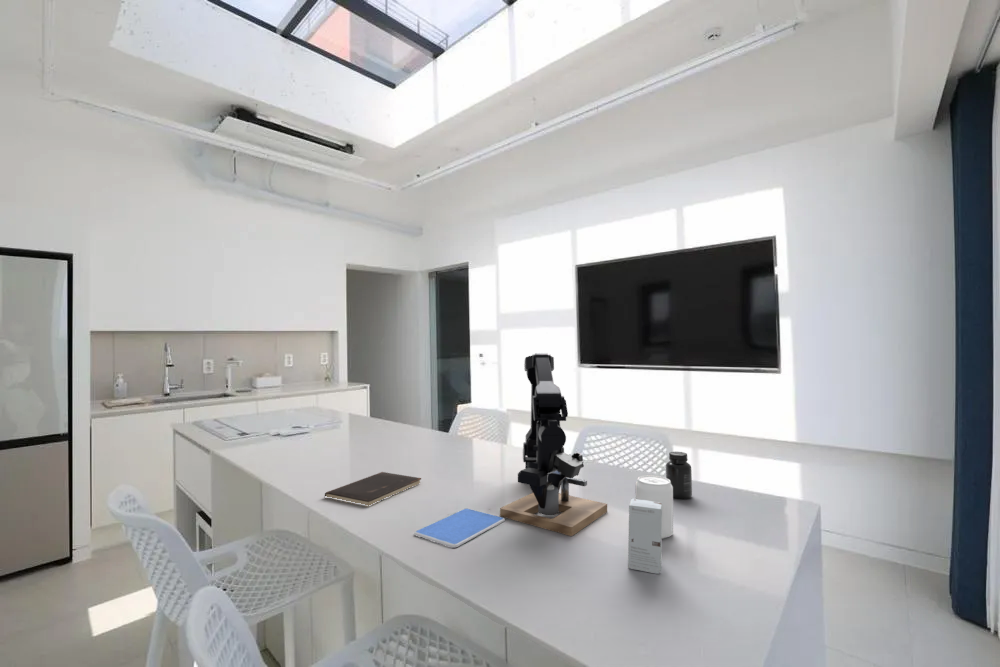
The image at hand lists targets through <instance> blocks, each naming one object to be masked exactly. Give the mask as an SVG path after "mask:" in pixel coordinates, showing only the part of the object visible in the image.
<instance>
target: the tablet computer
mask: <svg viewBox="0 0 1000 667" xmlns="http://www.w3.org/2000/svg"><path fill="white" fill-rule="evenodd" d="M505 521H506V520H505V517H501V516H497V515H493V514H489V513H486V512H482V511H480V510H479V511H478V510H475V509H471V508H464V509H462V510H459V511H456V512H455V513H453V514H451V515H449V516H446V517H445V518H442V519H440V520H437V521H435V522H433V523H431V524H429V525H426V526H424V527H422V528H420V529H418V530H416V531H414V534H415V535H417V536H420V537H423V538H426V539H429V540H432V541H435V542H437V543H436V544H438V543H441V544H443V545H442V546H444V545H446V546H445V547H447V546H448V547H447V548H451V549H455V548H458V547H460V546H462V545H464V544H465V543H467V542H469V541H470V540H472V539H474V538H476V537H478V536H479V535H481V534H483V533H485V532H487V531H489V530H491V529H492V528H495V527H496V526H498V525H500V524H502V523H504V522H505ZM414 534H413V535H414ZM415 535H414V536H415ZM417 536H416V537H417ZM420 537H419V538H420ZM423 538H422V539H423ZM426 539H425V540H426ZM429 540H428V541H429ZM432 541H431V542H432ZM435 542H434V543H435ZM441 544H440V545H441Z"/></svg>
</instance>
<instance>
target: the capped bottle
mask: <svg viewBox="0 0 1000 667" xmlns="http://www.w3.org/2000/svg"><path fill="white" fill-rule="evenodd" d="M559 493H560V490H559V489H558V488H557V487H555V486H553V485H549V486H548V487H547V494H546V504H545V508H544V509H543V508H540V506H539V504H538V512H537V513H539V514H540V515H544V516H555V515H558V514H560V512H559Z"/></svg>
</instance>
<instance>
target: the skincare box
mask: <svg viewBox="0 0 1000 667" xmlns="http://www.w3.org/2000/svg"><path fill="white" fill-rule="evenodd" d="M628 514H629V515H628V543H627V544H628V546H627V548H628V552H627V553H628V554H627V558H628V560H627V569H629V570H630V569H632V570H636V571H641V572H646V573H652V574H656V575H659V574H661V568H662V552H663V551H662V548H663V546H662V542H663V541H662V539H663V538H662V503H659V502H653V501H647V500H638V499H635V498H631V500H630V502H629V505H628Z"/></svg>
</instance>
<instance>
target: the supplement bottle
mask: <svg viewBox="0 0 1000 667" xmlns="http://www.w3.org/2000/svg"><path fill="white" fill-rule="evenodd" d="M668 456H669V457H668V460H669V461H667V463H666V465H665V478H667V479H669V480H670V481H671V485H672V487H673V499H676V500H689V499H691V498H692V497H693V477H692V476H693V474H692V473H693V472H692V470H693V469H692V464H690V463H689V462H687V461H689V459H688V453H686V452H683V451H670V452H669V455H668Z"/></svg>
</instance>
